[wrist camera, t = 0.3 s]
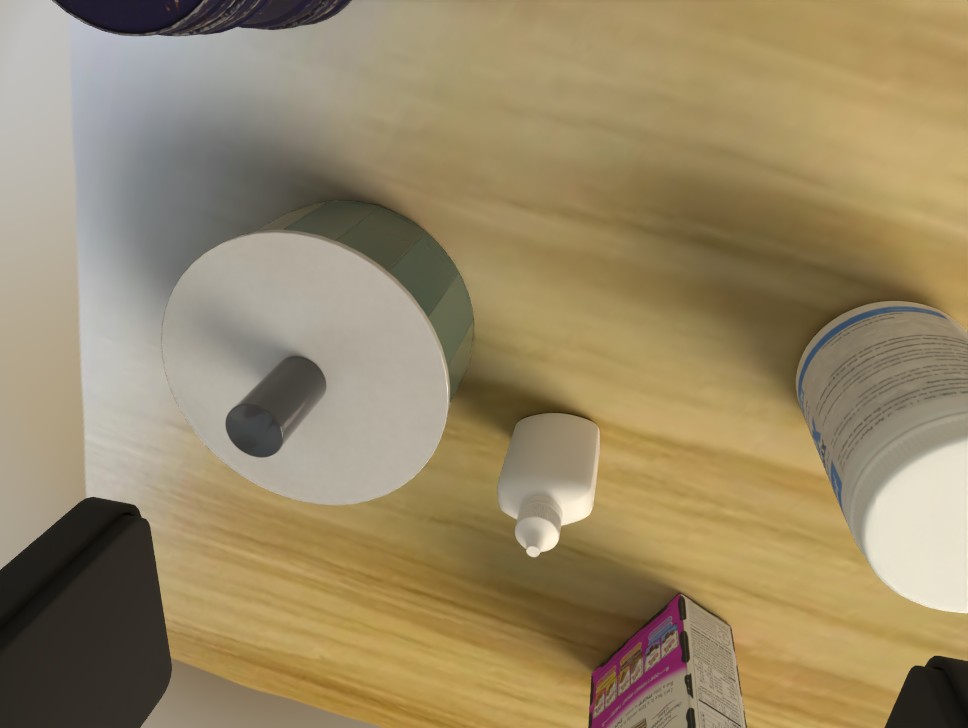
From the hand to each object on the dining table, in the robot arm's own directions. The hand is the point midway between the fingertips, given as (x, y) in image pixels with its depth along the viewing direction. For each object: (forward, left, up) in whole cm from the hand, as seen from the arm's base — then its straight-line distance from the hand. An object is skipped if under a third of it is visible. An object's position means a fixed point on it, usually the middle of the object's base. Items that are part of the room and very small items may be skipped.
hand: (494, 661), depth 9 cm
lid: (+13, -15, -27) cm, 34 cm away
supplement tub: (+11, +17, -36) cm, 41 cm away
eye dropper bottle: (+19, -1, -36) cm, 41 cm away
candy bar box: (+36, +9, -36) cm, 52 cm away
